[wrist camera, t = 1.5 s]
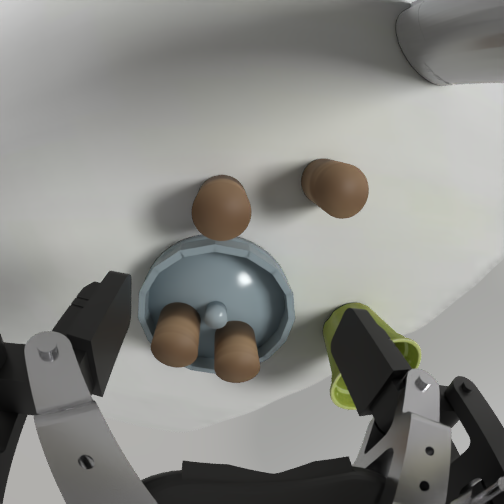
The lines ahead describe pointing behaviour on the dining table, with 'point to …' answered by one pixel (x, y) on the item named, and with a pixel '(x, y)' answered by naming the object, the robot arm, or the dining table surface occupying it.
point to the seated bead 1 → (177, 335)
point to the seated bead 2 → (236, 352)
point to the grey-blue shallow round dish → (220, 292)
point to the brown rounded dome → (221, 208)
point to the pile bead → (335, 187)
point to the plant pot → (338, 385)
